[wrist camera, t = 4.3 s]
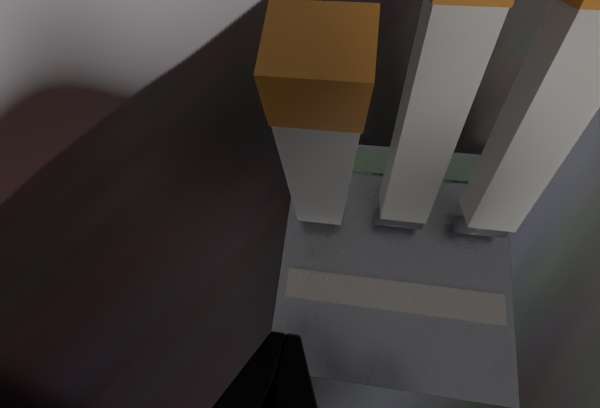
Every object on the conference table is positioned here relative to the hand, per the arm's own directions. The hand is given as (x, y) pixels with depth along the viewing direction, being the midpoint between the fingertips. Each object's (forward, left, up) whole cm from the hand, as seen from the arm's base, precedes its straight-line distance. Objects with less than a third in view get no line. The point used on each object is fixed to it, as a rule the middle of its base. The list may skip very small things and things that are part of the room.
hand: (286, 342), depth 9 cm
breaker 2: (-5, -10, -9) cm, 14 cm away
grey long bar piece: (-1, -8, -9) cm, 12 cm away
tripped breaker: (+3, -6, -9) cm, 11 cm away
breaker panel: (-2, -6, -11) cm, 13 cm away
